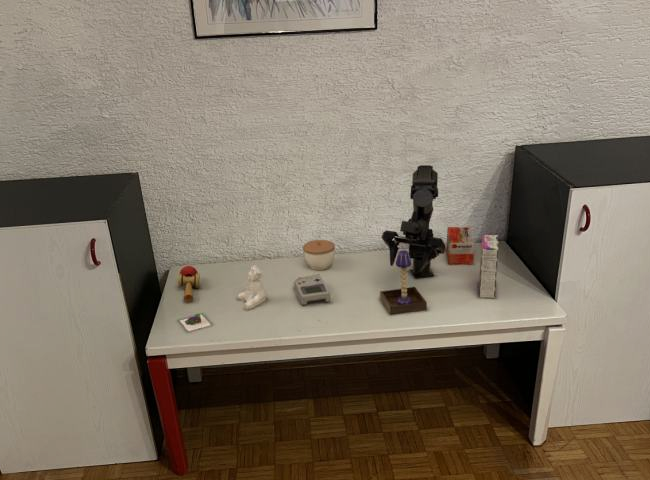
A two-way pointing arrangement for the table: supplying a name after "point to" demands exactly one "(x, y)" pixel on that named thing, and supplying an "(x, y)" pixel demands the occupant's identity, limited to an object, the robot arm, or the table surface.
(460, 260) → the medicine box
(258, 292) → the white creature statuette
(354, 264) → the table surface
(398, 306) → the tray
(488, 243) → the candy bar box
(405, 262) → the toy lamp
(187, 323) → the puzzle cube
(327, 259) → the trinket box
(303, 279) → the handheld gaming device
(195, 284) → the kendama
